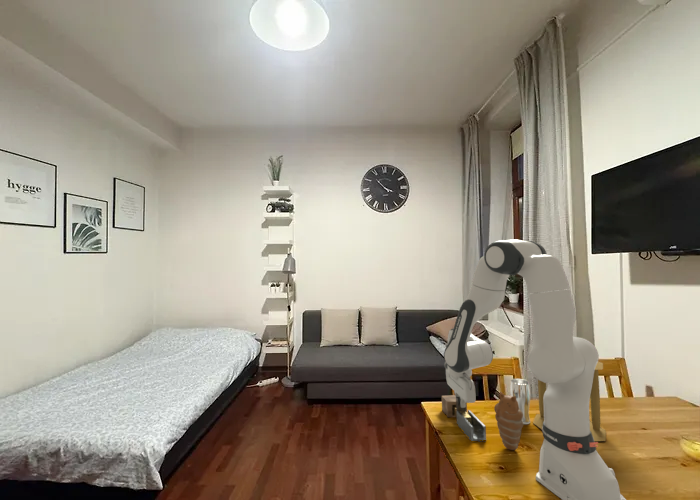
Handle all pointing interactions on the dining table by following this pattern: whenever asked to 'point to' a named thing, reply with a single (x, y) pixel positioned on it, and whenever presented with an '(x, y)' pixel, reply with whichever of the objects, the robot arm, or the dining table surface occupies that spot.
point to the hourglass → (595, 427)
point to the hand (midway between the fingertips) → (460, 405)
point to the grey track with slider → (472, 427)
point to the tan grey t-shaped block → (461, 410)
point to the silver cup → (522, 397)
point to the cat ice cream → (509, 420)
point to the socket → (449, 405)
